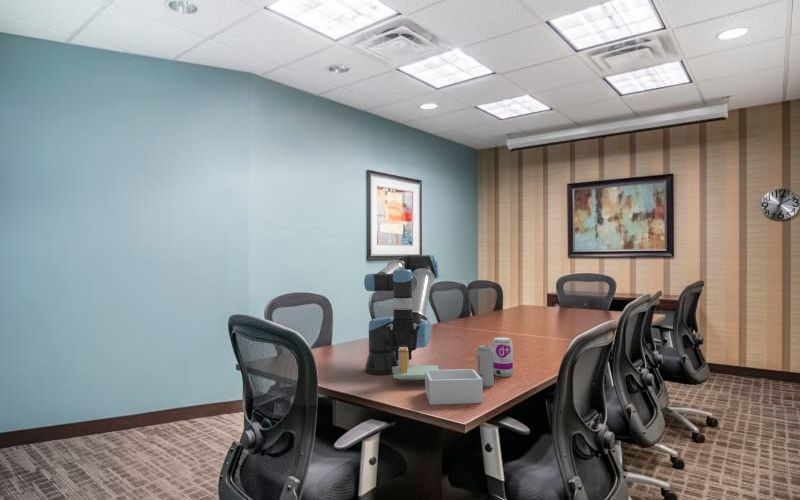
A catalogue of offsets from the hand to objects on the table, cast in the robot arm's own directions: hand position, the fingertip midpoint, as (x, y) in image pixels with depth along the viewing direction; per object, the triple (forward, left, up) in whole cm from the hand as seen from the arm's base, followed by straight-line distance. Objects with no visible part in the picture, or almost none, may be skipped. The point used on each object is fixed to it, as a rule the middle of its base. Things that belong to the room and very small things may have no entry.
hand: (403, 368), depth 179 cm
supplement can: (+42, +8, -6) cm, 43 cm away
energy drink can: (+31, -7, -6) cm, 32 cm away
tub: (+16, -20, -6) cm, 26 cm away
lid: (+5, 0, -3) cm, 6 cm away
